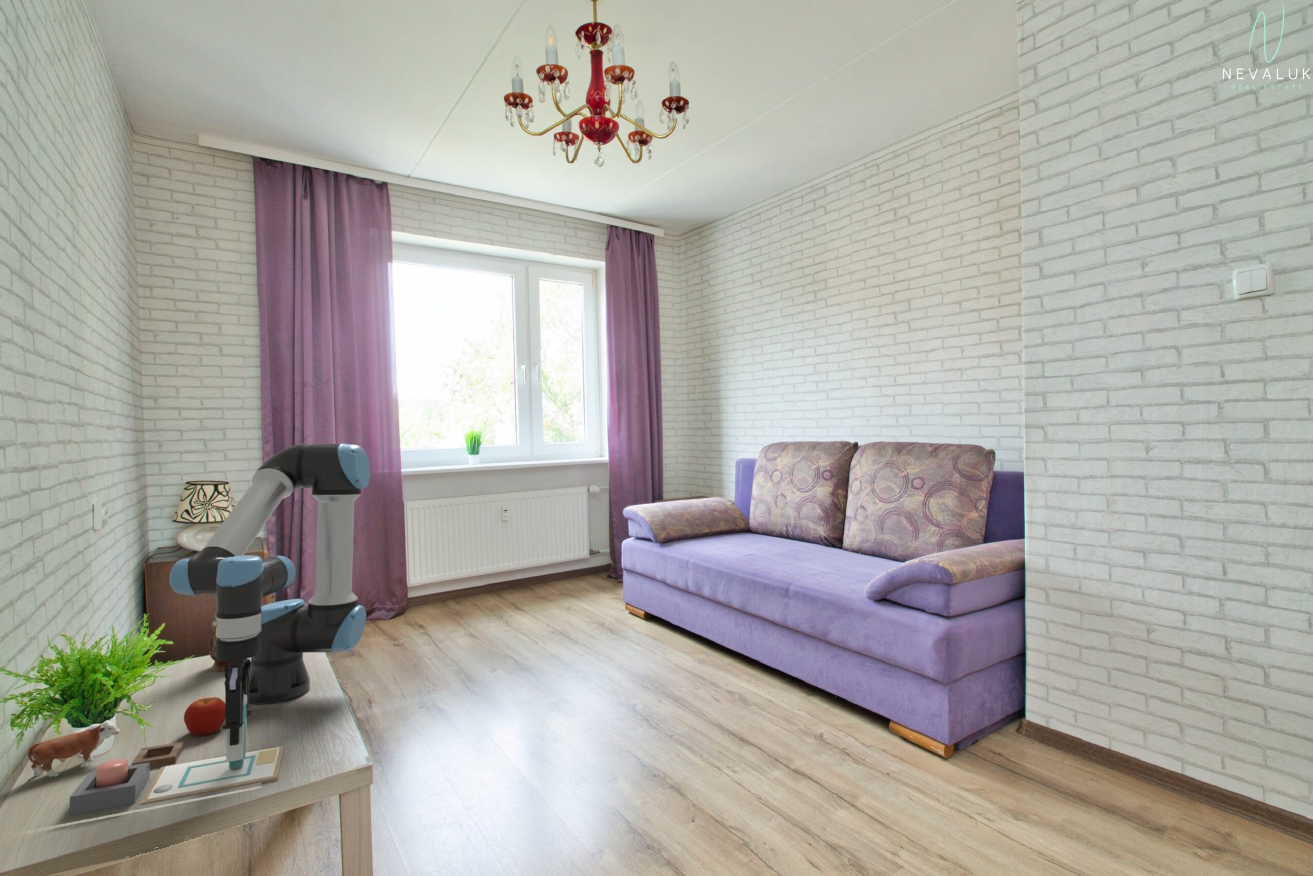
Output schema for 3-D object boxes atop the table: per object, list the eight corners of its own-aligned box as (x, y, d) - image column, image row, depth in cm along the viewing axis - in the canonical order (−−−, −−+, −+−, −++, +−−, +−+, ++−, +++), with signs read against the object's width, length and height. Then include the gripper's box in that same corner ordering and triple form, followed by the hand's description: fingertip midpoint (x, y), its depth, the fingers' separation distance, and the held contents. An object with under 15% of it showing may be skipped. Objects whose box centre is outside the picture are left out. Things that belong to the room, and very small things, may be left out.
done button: (100, 778, 117) (101, 762, 117) (130, 773, 118) (131, 757, 119) (91, 790, 113) (92, 773, 113) (123, 784, 115) (123, 768, 115)
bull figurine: (120, 760, 129) (121, 720, 129) (27, 786, 119) (28, 743, 119) (116, 753, 132) (117, 714, 132) (25, 778, 122) (26, 735, 122)
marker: (246, 761, 127) (248, 693, 127) (244, 768, 124) (245, 698, 124) (228, 764, 126) (229, 695, 126) (225, 771, 123) (226, 701, 123)
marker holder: (141, 757, 131) (141, 748, 131) (183, 750, 134) (183, 741, 134) (131, 773, 124) (131, 763, 124) (175, 765, 127) (175, 756, 127)
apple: (189, 745, 136) (190, 708, 136) (178, 734, 141) (179, 699, 141) (231, 732, 142) (232, 697, 142) (219, 722, 147) (219, 688, 147)
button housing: (88, 791, 118) (89, 772, 118) (149, 780, 122) (149, 762, 122) (69, 817, 110) (70, 796, 110) (135, 805, 113) (135, 785, 113)
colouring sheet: (161, 769, 126) (161, 765, 126) (284, 748, 135) (284, 744, 135) (140, 806, 113) (140, 801, 113) (277, 780, 122) (277, 775, 122)
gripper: (223, 627, 131) (221, 742, 131) (207, 650, 116) (204, 779, 116) (265, 623, 134) (263, 735, 134) (255, 645, 120) (252, 770, 119)
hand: (236, 755), depth 125 cm, fingers closed on marker, 3 cm apart
